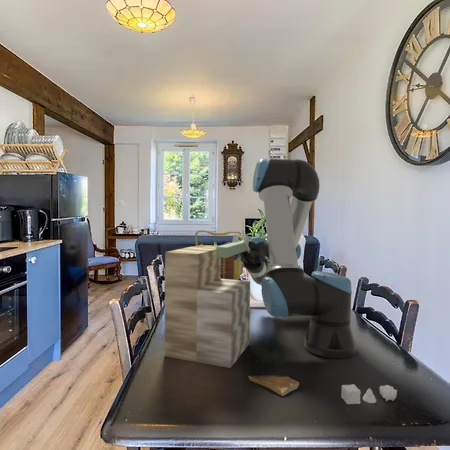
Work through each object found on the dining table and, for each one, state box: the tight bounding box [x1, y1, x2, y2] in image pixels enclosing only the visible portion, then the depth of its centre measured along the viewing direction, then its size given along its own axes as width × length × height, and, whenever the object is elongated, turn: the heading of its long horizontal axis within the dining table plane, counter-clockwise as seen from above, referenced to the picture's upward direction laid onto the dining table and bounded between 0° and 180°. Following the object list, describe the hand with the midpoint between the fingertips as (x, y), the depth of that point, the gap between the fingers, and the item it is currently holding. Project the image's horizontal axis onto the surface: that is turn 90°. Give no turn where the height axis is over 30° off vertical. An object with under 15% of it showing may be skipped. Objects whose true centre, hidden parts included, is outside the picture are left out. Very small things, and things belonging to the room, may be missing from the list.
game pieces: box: [340, 383, 398, 405], centre depth 78 cm, size 12×3×3 cm, turn 96°
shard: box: [247, 374, 300, 397], centre depth 85 cm, size 11×8×2 cm
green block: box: [216, 239, 252, 258], centre depth 111 cm, size 26×3×3 cm, turn 160°
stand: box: [164, 245, 251, 369], centre depth 103 cm, size 18×20×30 cm
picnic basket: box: [194, 229, 244, 280], centre depth 207 cm, size 29×26×30 cm
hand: (239, 238), depth 115 cm, fingers closed on green block, 3 cm apart
